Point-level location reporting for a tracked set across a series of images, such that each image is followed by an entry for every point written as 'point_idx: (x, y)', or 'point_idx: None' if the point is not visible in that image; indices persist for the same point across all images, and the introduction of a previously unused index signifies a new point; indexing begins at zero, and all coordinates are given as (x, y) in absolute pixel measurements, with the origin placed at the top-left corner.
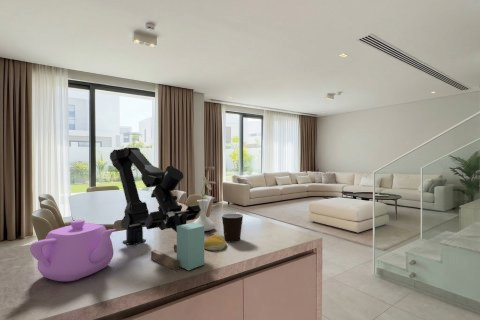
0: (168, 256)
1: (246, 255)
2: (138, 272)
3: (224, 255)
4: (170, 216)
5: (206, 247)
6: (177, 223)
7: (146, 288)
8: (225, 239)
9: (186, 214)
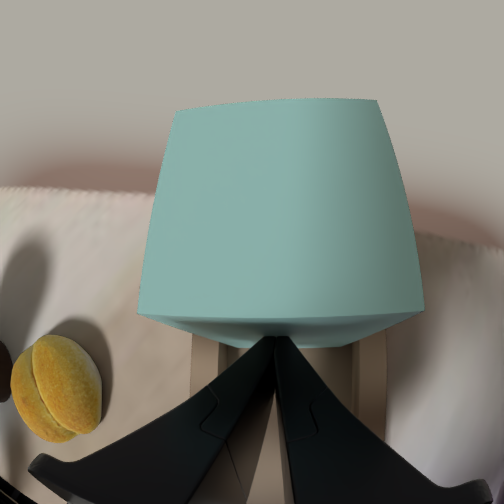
0: (364, 400)
1: (75, 218)
2: (477, 397)
3: (108, 279)
4: (491, 499)
5: (99, 395)
6: (354, 415)
7: (493, 249)
8: (8, 386)
9: (77, 469)
